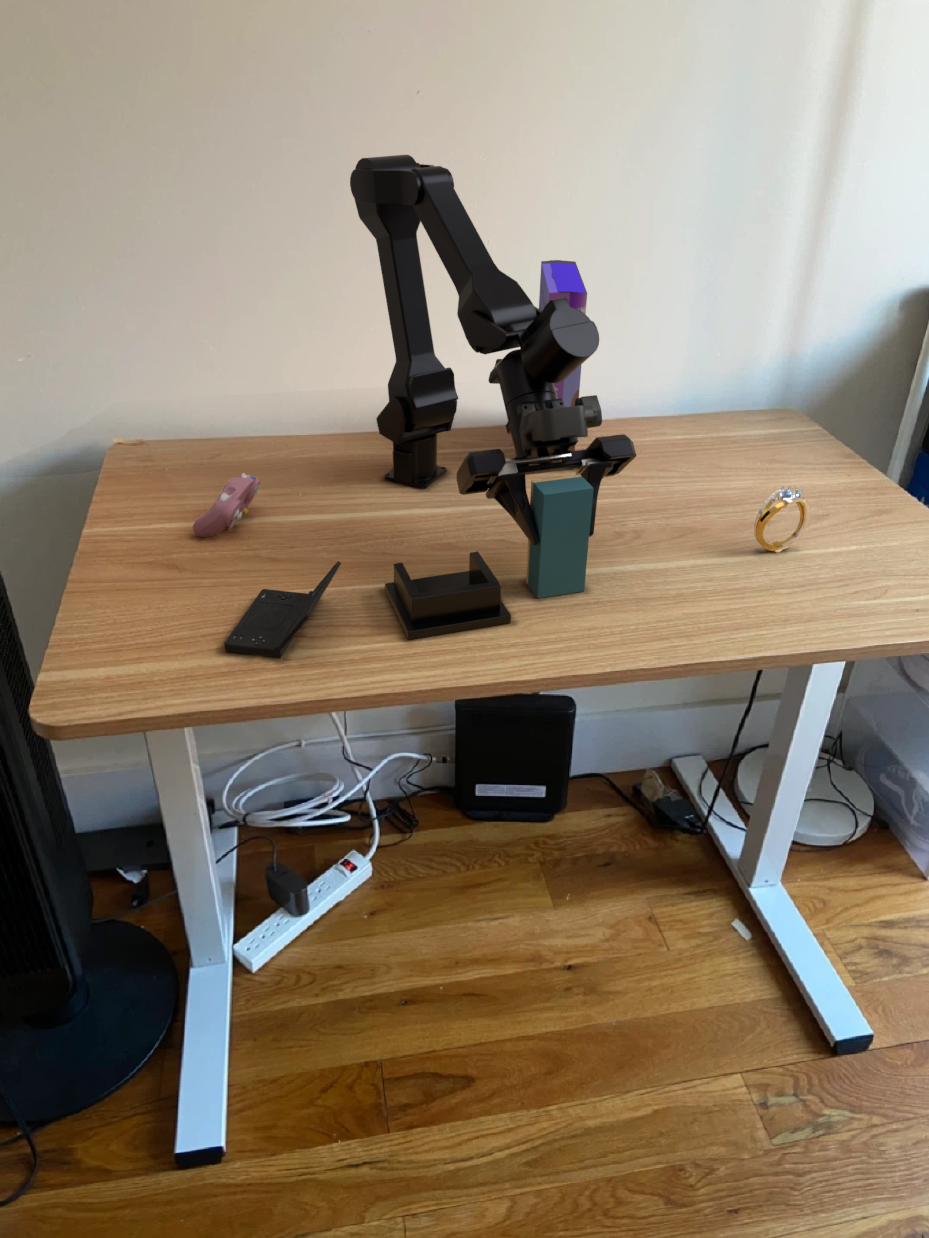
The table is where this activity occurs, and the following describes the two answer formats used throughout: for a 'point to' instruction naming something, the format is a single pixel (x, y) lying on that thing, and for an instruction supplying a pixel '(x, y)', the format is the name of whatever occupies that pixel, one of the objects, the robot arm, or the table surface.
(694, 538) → the table surface
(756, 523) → the ring
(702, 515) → the table surface
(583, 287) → the cereal box
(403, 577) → the black square holder
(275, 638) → the handheld gaming console
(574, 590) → the teal rectangular block
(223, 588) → the table surface
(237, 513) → the video game controller
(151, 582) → the table surface
